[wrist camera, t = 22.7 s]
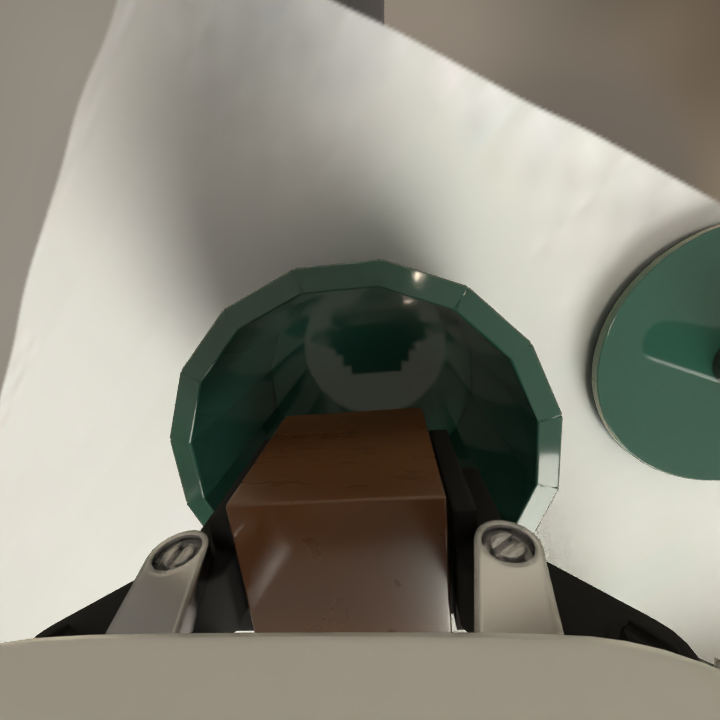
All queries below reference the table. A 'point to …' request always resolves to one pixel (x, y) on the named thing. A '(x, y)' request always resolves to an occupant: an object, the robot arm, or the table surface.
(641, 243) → the table surface
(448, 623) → the block
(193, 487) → the pot
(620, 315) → the lid
